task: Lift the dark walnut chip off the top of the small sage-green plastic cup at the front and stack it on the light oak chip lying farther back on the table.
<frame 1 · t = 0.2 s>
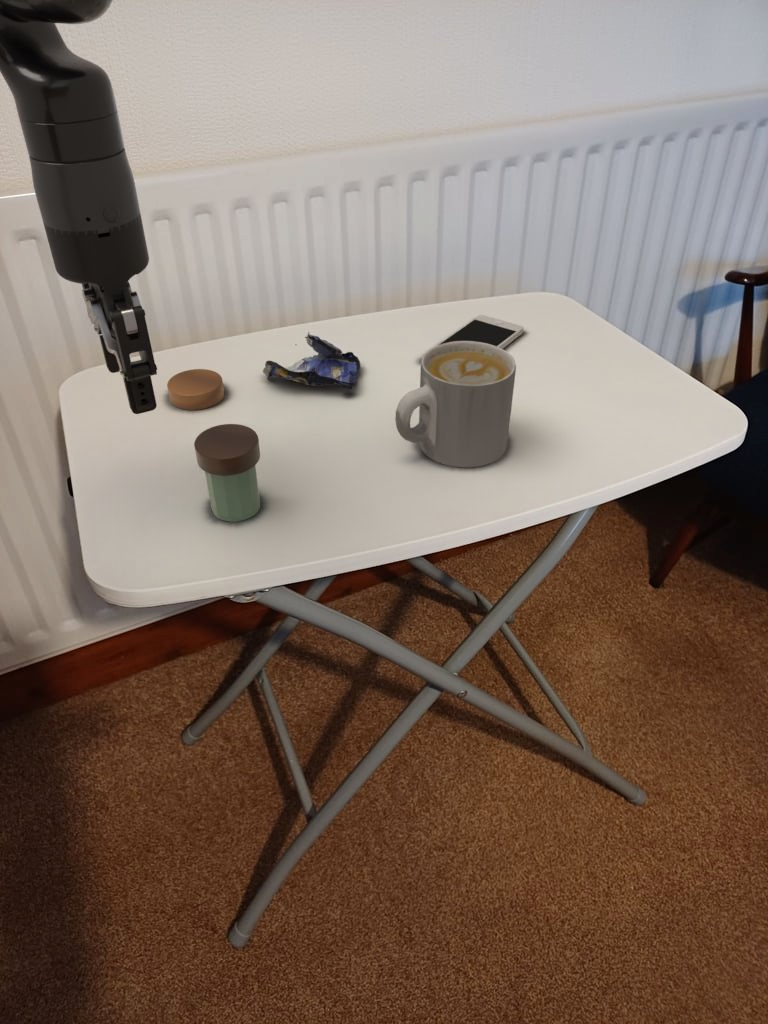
hand: (131, 389, 73), 12 cm above the table, tool pointing down, fingers open, 8 cm apart
smartphone: (474, 347, 106), on the table
plastic cup: (236, 506, 79), on the table, touching walnut chip
coffee mug: (448, 446, 88), on the table
snack package: (317, 381, 99), on the table
walnut chip: (228, 457, 75), point 6 cm above the table, touching plastic cup
oak chip: (197, 396, 96), on the table
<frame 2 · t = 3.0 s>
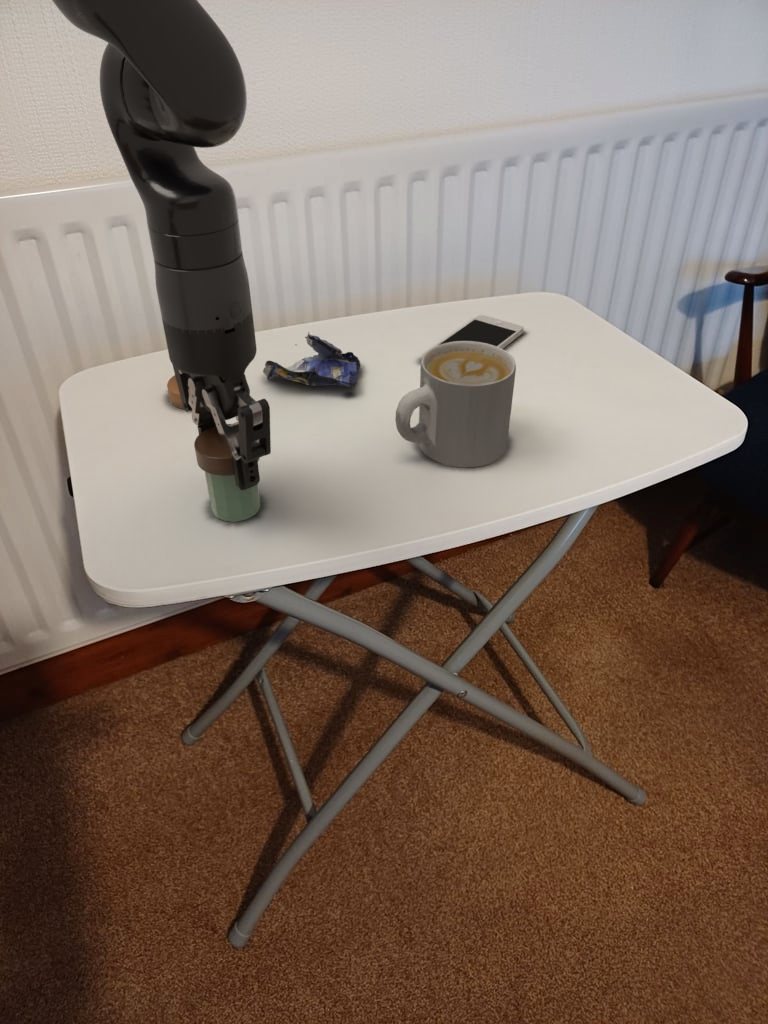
hand: (231, 469, 76), 5 cm above the table, tool pointing down, fingers closed on walnut chip, 6 cm apart
walnut chip: (228, 457, 75), point 6 cm above the table, touching gripper, plastic cup
everything else where it was.
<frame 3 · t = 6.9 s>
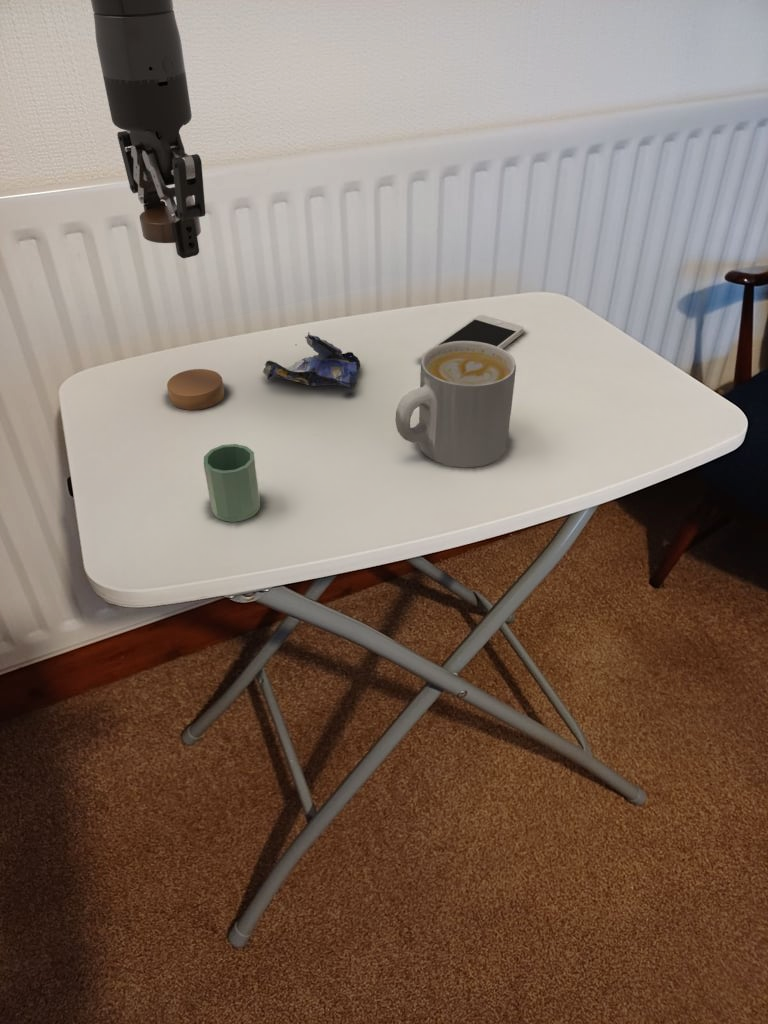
hand: (174, 246, 84), 19 cm above the table, tool pointing down, fingers closed on walnut chip, 6 cm apart
plastic cup: (236, 506, 79), on the table
walnut chip: (172, 233, 83), point 20 cm above the table, touching gripper
everything else where it was.
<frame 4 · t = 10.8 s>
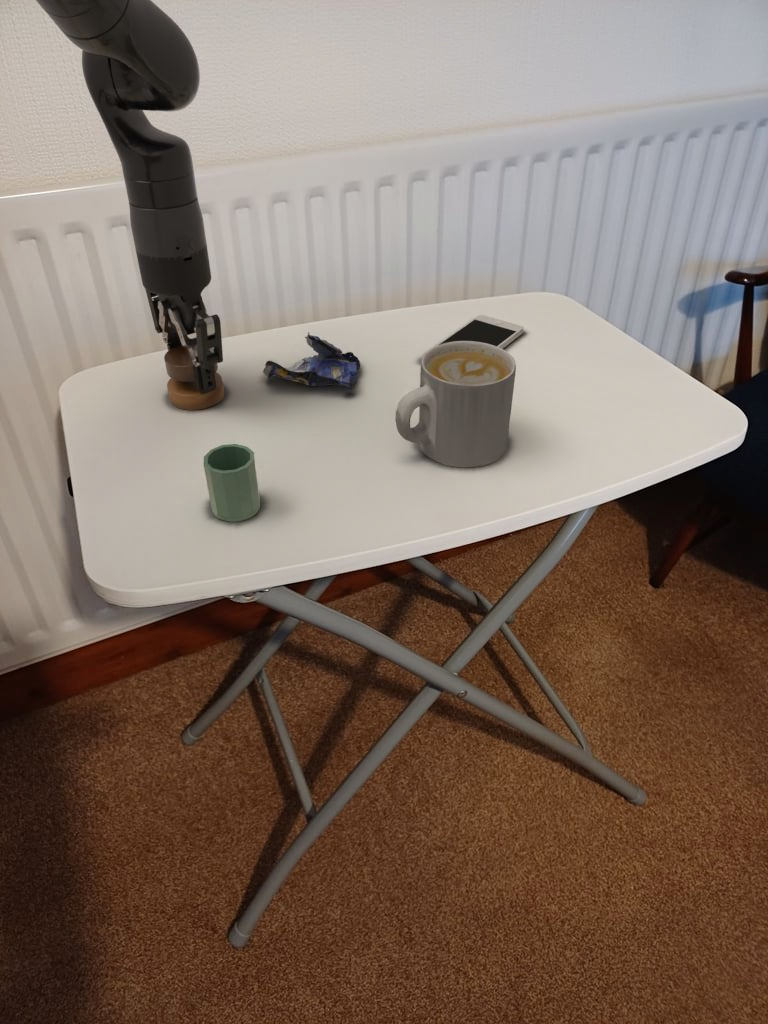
hand: (194, 379, 95), 2 cm above the table, tool pointing down, fingers closed on walnut chip, 6 cm apart
walnut chip: (192, 369, 94), point 4 cm above the table, touching gripper
everything else where it was.
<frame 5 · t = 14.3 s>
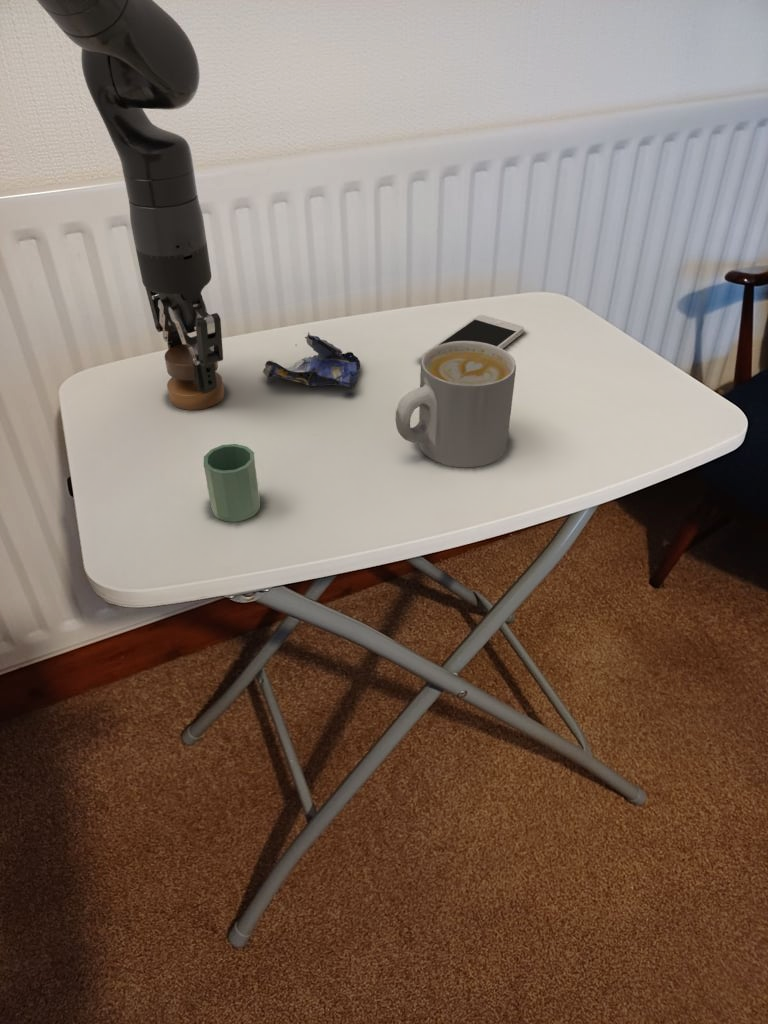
hand: (194, 378, 95), 2 cm above the table, tool pointing down, fingers closed on walnut chip, 6 cm apart
walnut chip: (192, 368, 94), point 4 cm above the table, touching gripper
everything else where it was.
when the fingers open (3 cm above the table, at t = 17.2 s): walnut chip drops 2 cm, resting on oak chip.
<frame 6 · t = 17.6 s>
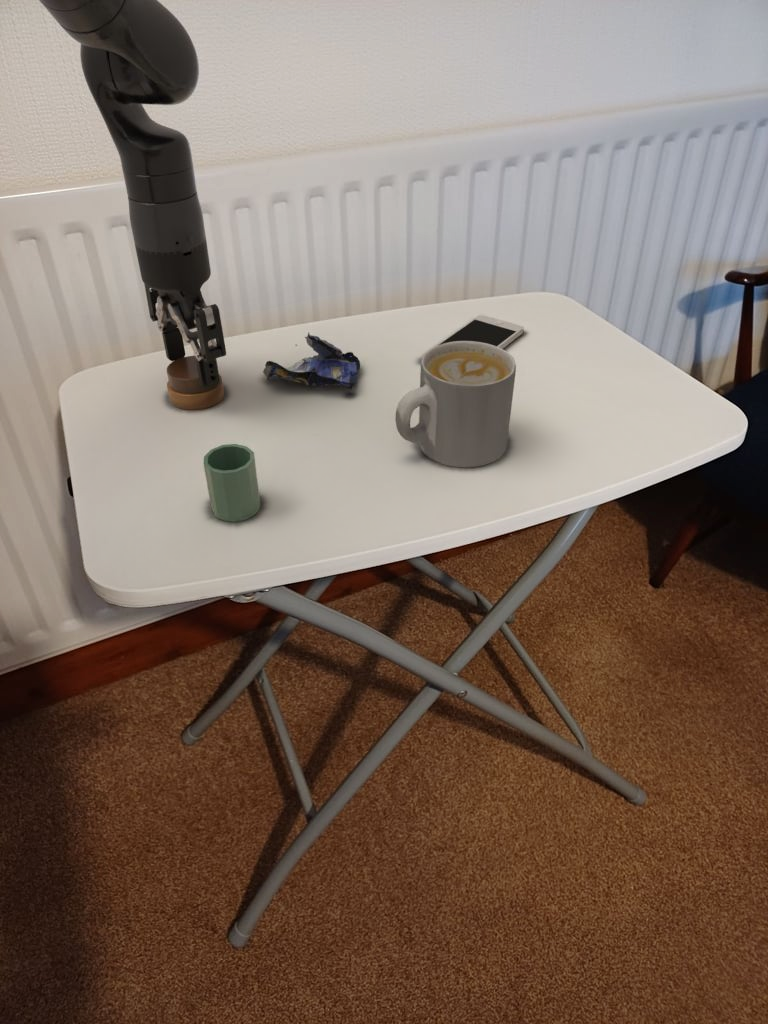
hand: (193, 371, 94), 3 cm above the table, tool pointing down, fingers open, 8 cm apart
walnut chip: (194, 381, 95), point 2 cm above the table, touching oak chip
oak chip: (197, 396, 96), on the table, touching walnut chip
everything else where it was.
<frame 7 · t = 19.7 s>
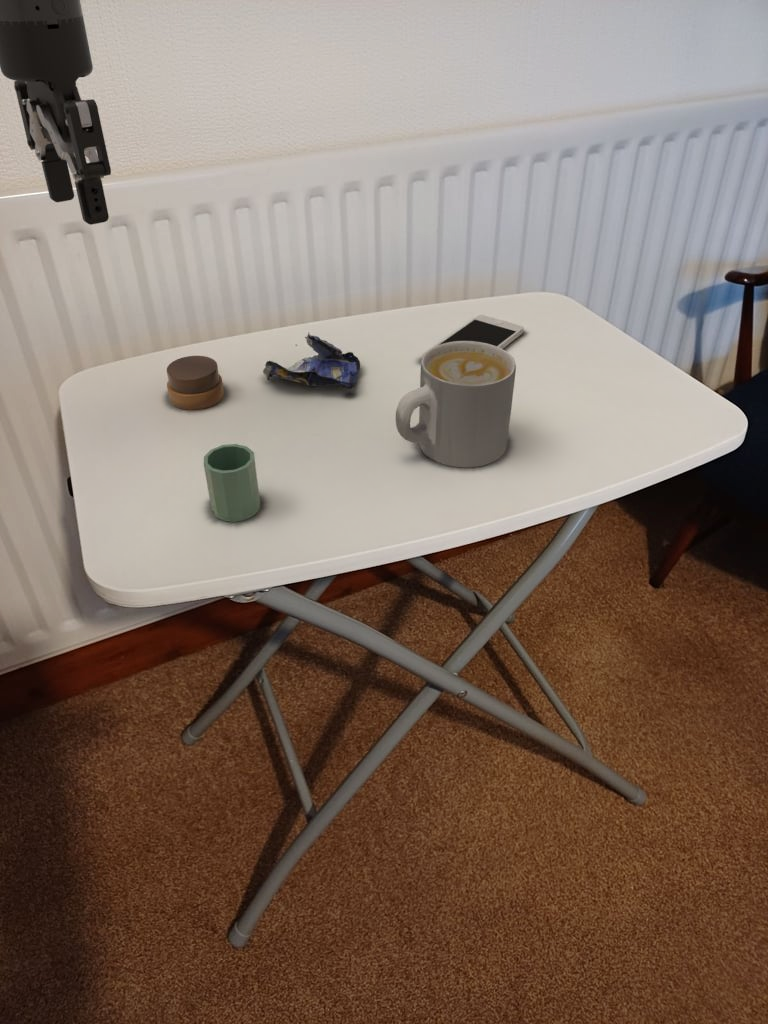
hand: (79, 211, 75), 25 cm above the table, tool pointing down, fingers open, 8 cm apart
nothing on the table moved.
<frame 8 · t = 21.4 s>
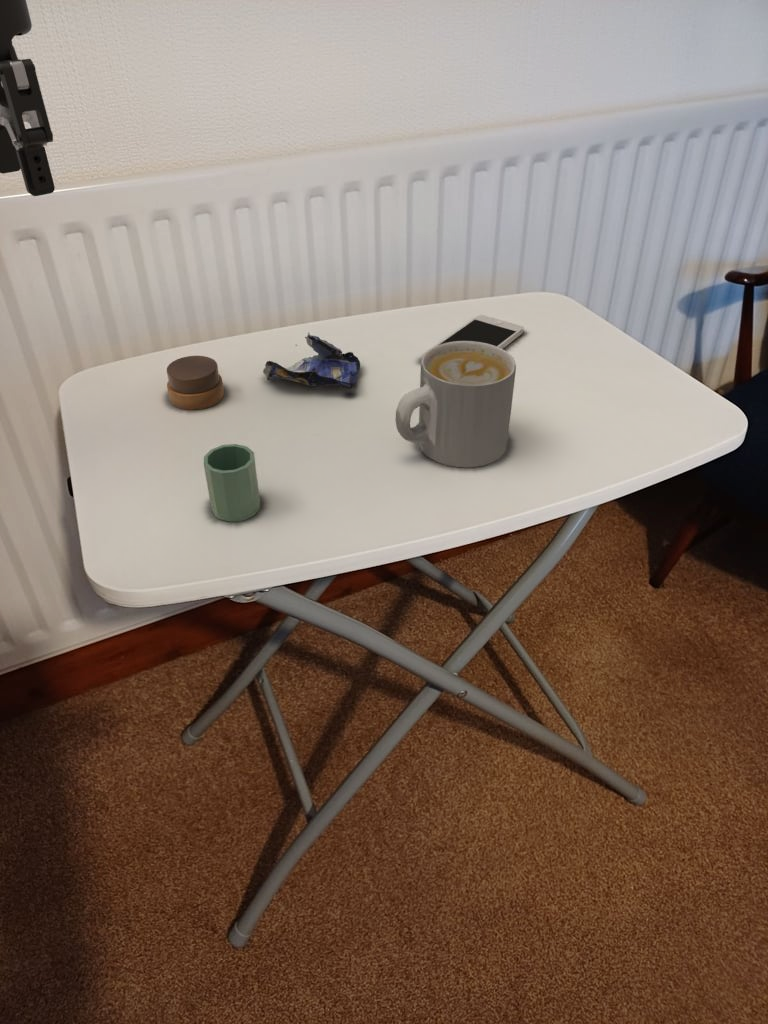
hand: (25, 182, 71), 28 cm above the table, tool pointing down, fingers open, 8 cm apart
nothing on the table moved.
at the end: walnut chip 0.0 cm off-centre on the oak chip, point 2.0 cm above the oak chip's base; walnut chip tilted 0°; the gripper is holding nothing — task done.
